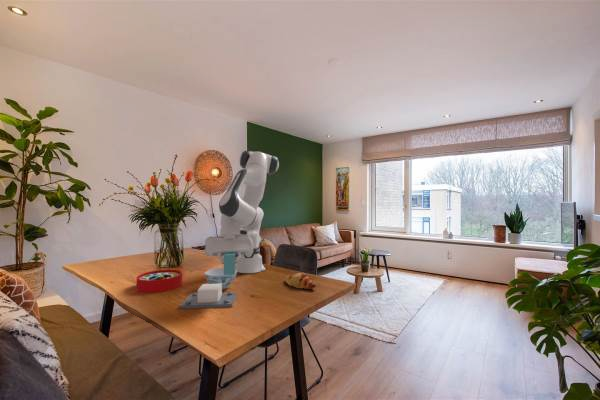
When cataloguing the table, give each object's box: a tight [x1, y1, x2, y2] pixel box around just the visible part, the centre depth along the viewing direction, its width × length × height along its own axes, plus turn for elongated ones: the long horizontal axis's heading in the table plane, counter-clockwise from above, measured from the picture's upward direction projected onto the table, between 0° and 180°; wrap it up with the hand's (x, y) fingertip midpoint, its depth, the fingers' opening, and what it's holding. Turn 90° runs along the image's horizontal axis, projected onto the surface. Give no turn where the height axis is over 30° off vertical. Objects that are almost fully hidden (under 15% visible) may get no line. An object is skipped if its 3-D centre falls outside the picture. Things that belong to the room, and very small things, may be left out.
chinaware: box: [204, 267, 238, 290], centre depth 131 cm, size 15×15×8 cm
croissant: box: [284, 272, 317, 290], centre depth 134 cm, size 21×10×8 cm, turn 45°
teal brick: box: [223, 253, 236, 275], centre depth 112 cm, size 4×4×8 cm
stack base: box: [179, 283, 238, 310], centre depth 112 cm, size 13×20×6 cm, turn 96°
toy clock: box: [135, 269, 183, 294], centre depth 132 cm, size 20×6×20 cm
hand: (229, 263), depth 112 cm, fingers closed on teal brick, 4 cm apart
